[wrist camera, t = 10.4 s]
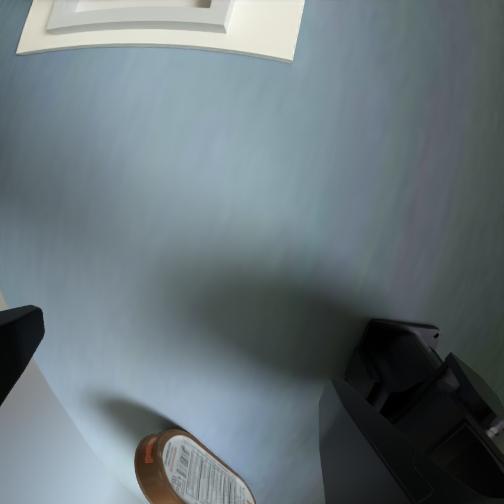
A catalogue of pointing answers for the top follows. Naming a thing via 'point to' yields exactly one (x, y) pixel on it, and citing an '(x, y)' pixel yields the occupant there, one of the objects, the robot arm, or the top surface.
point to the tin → (185, 472)
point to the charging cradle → (166, 26)
